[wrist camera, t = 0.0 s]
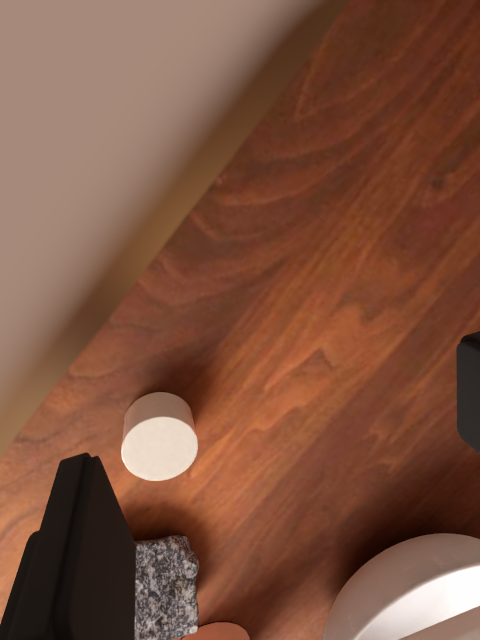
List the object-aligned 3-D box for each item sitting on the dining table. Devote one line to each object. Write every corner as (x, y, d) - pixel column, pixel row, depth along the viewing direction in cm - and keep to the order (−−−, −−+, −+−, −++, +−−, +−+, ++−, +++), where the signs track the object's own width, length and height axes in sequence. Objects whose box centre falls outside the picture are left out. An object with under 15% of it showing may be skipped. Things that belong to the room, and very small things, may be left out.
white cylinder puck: (114, 403, 27) (110, 430, 24) (183, 383, 28) (188, 407, 25) (135, 459, 29) (134, 490, 26) (199, 439, 30) (205, 467, 27)
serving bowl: (259, 648, 39) (282, 739, 32) (374, 474, 35) (426, 540, 28) (414, 668, 46) (458, 747, 39) (524, 526, 42) (592, 587, 35)
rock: (197, 511, 32) (205, 556, 28) (195, 605, 35) (201, 657, 31) (96, 524, 30) (89, 574, 26) (102, 621, 33) (97, 679, 29)
